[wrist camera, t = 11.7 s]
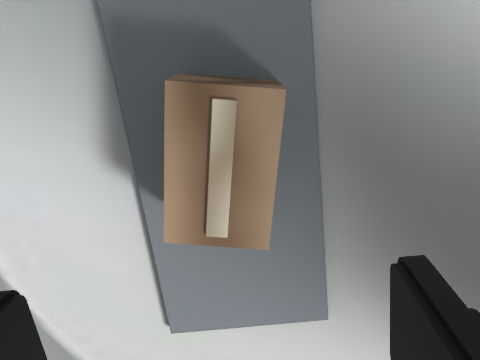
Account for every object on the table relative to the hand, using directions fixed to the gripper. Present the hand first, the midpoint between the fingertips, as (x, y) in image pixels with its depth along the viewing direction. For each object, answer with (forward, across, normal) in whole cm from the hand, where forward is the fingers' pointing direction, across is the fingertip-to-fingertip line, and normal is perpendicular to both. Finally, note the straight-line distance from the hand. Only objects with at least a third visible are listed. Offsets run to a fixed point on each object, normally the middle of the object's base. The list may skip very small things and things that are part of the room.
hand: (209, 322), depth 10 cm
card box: (+16, +1, 0) cm, 16 cm away
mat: (+17, +1, 0) cm, 17 cm away
